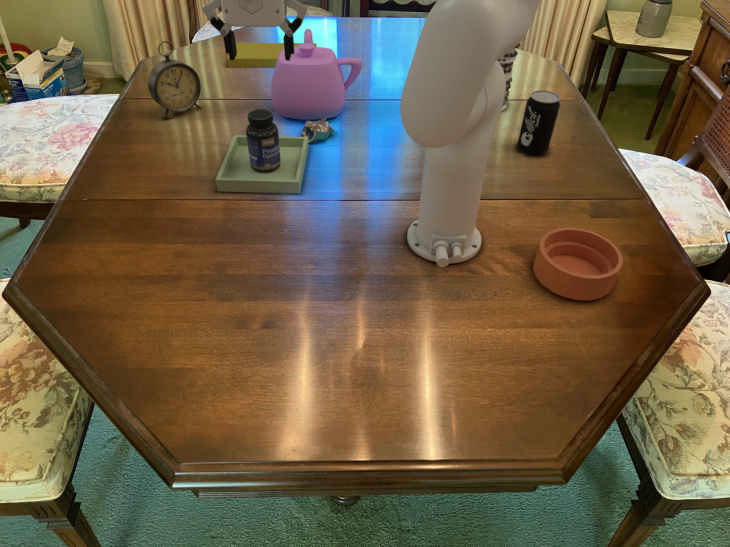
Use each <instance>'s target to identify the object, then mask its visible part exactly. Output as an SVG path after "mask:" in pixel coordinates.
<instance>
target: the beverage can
mask: <svg viewBox="0 0 730 547" xmlns="http://www.w3.org/2000/svg"><path fill="white" fill-rule="evenodd" d="M560 99H561V97H560V95H558V93H556V92H554V91H551V90H545V89H544V90H543V89H539V90H534V91H532V92H531V93H530V96H529V97H528V99H527V100H526V104H525V108H524V113H523V118H522V122H521V126H520V130H519V135H518V139H517V147H518V149H519V150H520V152H522V153H524V154H526V155H530V156H541V155H543V154H545V153H546V152H548V151H549V148H550V144H551V142H552V137H553V134H554V130H555V127H556V123H557V119H558V115H559V111H560V109H561V108H560V107H561V104H560V103H561V102H560Z"/></svg>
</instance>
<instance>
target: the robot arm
mask: <svg viewBox="0 0 730 547" xmlns="http://www.w3.org/2000/svg"><path fill="white" fill-rule="evenodd" d="M541 2H542V0H437V1H436V2H435V3H434V5H432V7H431V9H430V11H429V13H428V15H427V17H426V19H425V21H424V23H423V25H422V29H421V31H420V34H419V38H418V40H417V44H416V46H415V50H414V53H413V56H412V60H411V63H410V66H409V69H408V73H407V76H406V79H405V81H404V85H403V89H402V92H401V96H400V102H399V103H400V105H399V113H400V120H401V124H402V126H403V128H404V130H405V132H406V134H407V136H409V138H410V139H411V140H412V141H413V142H414V143H416V144H417V145H420V146H421V147H424V148H425V150H424V158H423V169H422V179H421V188H420V199H419V208H418V217H417V219H415V220H413V222H411V224H410V225H409V227H408V228H407V235H406V240H407V244H408V246H409V248H410V249H411V250H412V252H414V253H415V254H417V255H418V256H419V257H421V258H423V259H424V260H427V261H430V262H435V263H436V265H437V267H439V268H445V267H447V266H449V264H458V263H463V262H466V261H468V260H470V259H472V258H474V257H475V256H476V255H477V254H478V253H479V252H480V249H481V246H482V242H483V240H482V235H481V233H480V231H479V230H478V228H477V227H476V223H477V218H478V212H479V207H480V203H481V197H482V192H483V187H484V181H485V176H486V170H487V165H488V162H489V161H488V160H489V157H490V156H489V155H490V152H491V147H492V142H493V139H494V138H493V137H494V134H495V131H496V127H497V125H498V121H499V118H500V116H501V112H502V111H501V109H502V106H503V103H504V98H505V92H506V80H505V74H504V71H503V69H502V67H501V65H500V63H499V62H498V61H497V60H498V59H500V58H501V57H503V56H504V55H505V54H507V53H508V52H510V51H511V50H512V49H513V48H515V47H516V46H517V45H518V44H519V43H520V44H521V42H522V41H523V40H524V38H525V37H526V35H527V34H528V32H529V30H530V28H531V26H532V24H533V21H534V18H535V16H536V13H537V11H538V9H539V6H540V4H541ZM220 7H221V13H222V19H221V17H220V16H218V15H217V14H216V12H215V10H216V9H218V8H220ZM287 7H288V8H289V9H292V10H293V11H295V12H296V13H297V14H296V17H295V18H294V19H293V20H292V22H291V20H290V19H289V18H288V17H287V15H288V13H287V12H288V11H287ZM308 10H309V6H307V5H306V4H304V3H303V2H301V1H299V0H210V1H209V2H207V3H205V4H204V5H203V6H202V8H201V11H202V12H203V14H204V15H205V17H206V18H207V20H208V21H209V24H210V25H211V26H212V27H213V28H214V29H215V30H216V31H218V33H219V35H220V36H221V37H222V38H223V44H224V51H225V54H227V55H228V54H229V58H230V60H234V59H235V57H236V55H237V49H236V43H237V42H236V36H235V32H234V31H233V29H232V28H233V27H234V28H235V27H238V28H276V27H279V29H280V30H281V31H282V32H283V33H284V35H283V38H282V39H283V43H284V51H285V60H287V61H290V58H291V54H294V43H295V41H294V40H295V39H294V34H295V33H296V32H297V31H298V30H299V29H300V27H302V24H303V22H304V20H305V17H306V15H307V12H308Z"/></svg>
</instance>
